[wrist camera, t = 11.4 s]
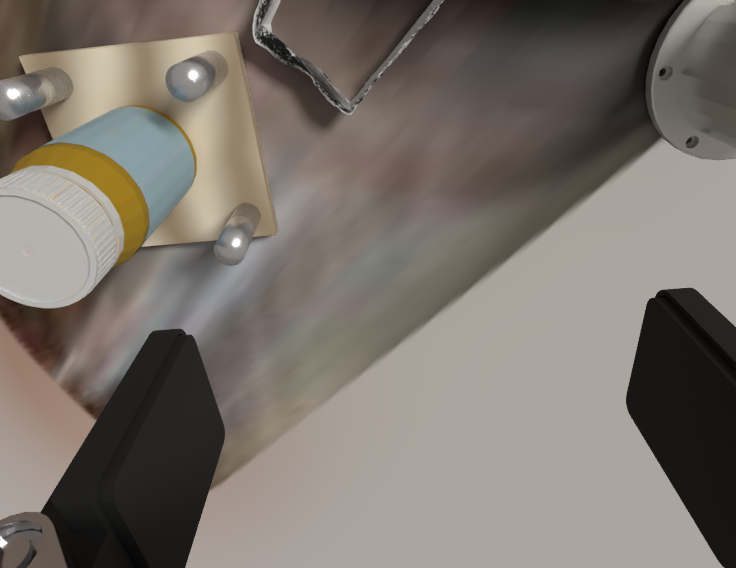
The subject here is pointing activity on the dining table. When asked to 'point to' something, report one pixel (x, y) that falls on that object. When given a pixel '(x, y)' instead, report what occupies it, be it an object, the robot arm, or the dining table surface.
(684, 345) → the robot arm
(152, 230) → the bottle
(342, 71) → the dining table surface
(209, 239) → the holder base
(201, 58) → the holder pins
